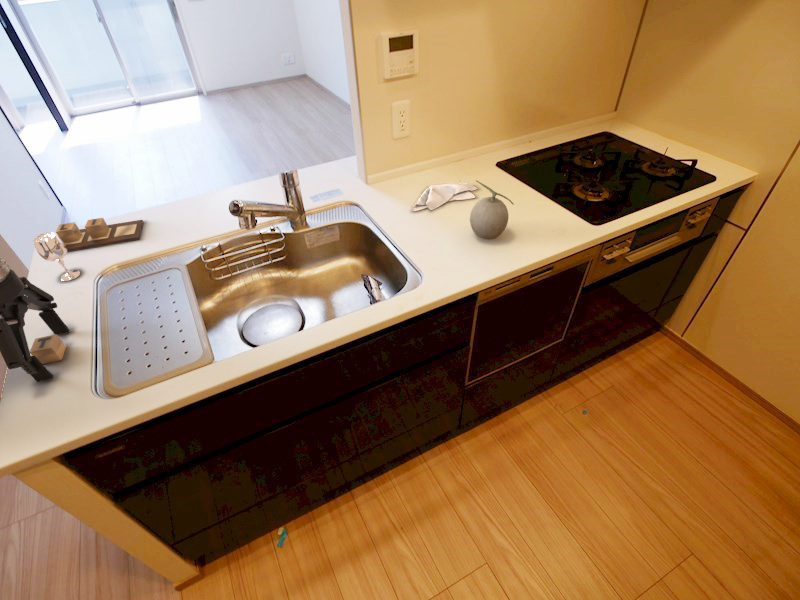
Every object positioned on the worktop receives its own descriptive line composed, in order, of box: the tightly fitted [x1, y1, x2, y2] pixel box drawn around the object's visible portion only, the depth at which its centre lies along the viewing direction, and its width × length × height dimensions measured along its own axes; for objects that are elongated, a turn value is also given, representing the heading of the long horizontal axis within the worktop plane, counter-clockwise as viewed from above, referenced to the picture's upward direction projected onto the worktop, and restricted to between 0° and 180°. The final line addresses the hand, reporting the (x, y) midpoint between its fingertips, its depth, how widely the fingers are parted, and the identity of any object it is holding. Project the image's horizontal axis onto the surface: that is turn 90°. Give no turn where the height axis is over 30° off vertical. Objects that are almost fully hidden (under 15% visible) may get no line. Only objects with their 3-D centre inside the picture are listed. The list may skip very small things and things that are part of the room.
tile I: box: [84, 217, 109, 239], centre depth 123 cm, size 4×4×4 cm
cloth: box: [412, 182, 478, 212], centre depth 140 cm, size 26×14×2 cm, turn 115°
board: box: [64, 219, 145, 253], centre depth 125 cm, size 22×10×1 cm, turn 108°
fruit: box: [469, 180, 515, 240], centre depth 118 cm, size 10×12×15 cm
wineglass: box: [32, 231, 81, 282], centre depth 108 cm, size 6×6×12 cm
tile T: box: [29, 334, 67, 365], centre depth 90 cm, size 4×4×4 cm
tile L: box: [55, 222, 82, 243], centre depth 121 cm, size 4×4×4 cm
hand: (54, 354), depth 91 cm, fingers open, 13 cm apart
